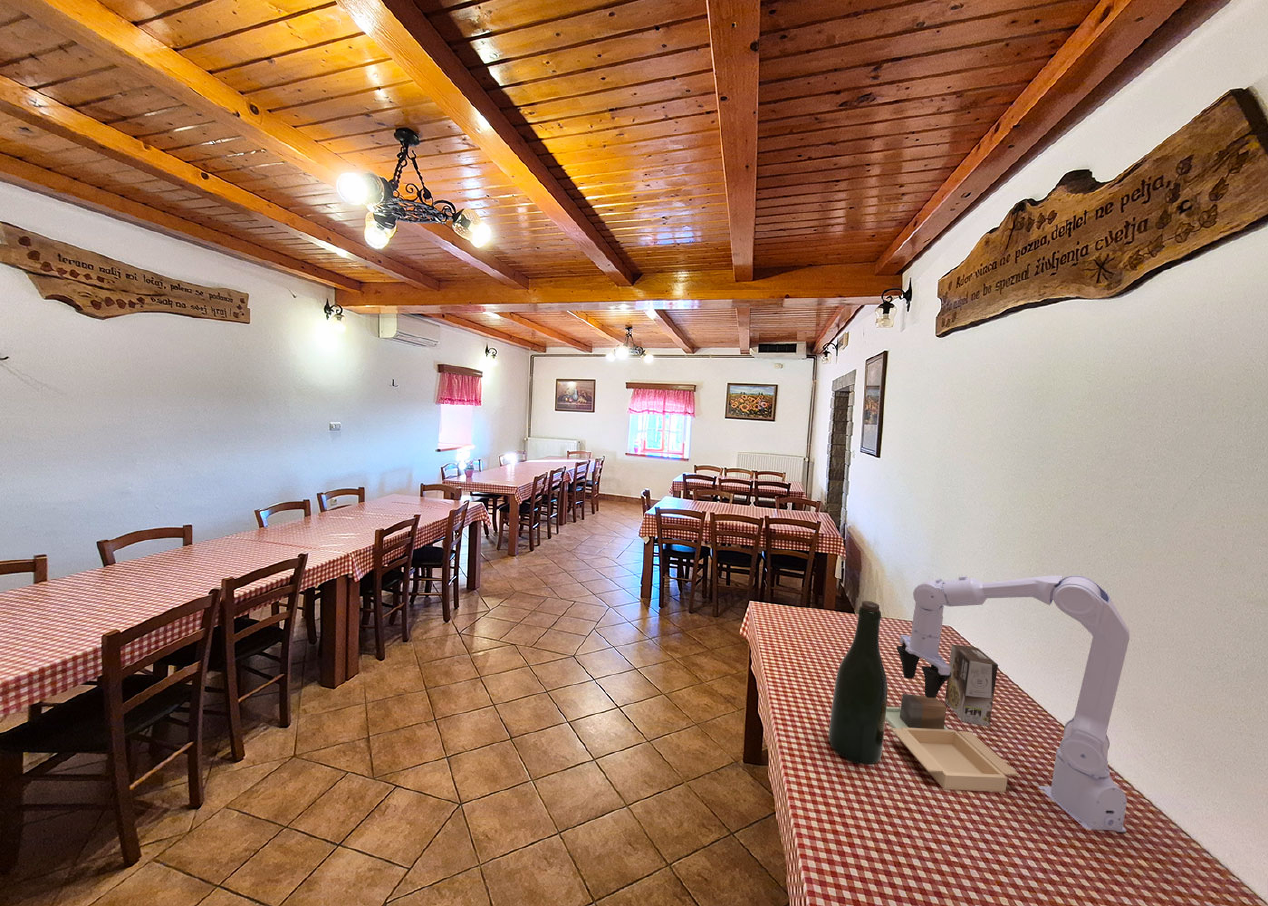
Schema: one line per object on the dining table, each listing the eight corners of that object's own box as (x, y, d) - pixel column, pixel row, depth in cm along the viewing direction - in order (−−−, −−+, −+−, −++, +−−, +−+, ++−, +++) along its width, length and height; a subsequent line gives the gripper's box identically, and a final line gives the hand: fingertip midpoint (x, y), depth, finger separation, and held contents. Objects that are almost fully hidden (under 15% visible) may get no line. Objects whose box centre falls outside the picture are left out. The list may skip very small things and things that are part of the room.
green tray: (955, 742, 102) (956, 736, 102) (901, 740, 101) (901, 734, 101) (925, 713, 112) (926, 708, 112) (875, 711, 111) (876, 706, 111)
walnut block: (943, 731, 105) (946, 706, 104) (910, 729, 104) (913, 704, 104) (931, 719, 109) (934, 696, 108) (899, 717, 109) (902, 693, 108)
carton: (1019, 795, 88) (1022, 777, 88) (929, 791, 87) (931, 773, 87) (965, 745, 101) (967, 729, 101) (886, 741, 101) (888, 725, 100)
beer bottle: (851, 770, 91) (869, 614, 89) (817, 735, 101) (833, 594, 99) (892, 763, 94) (911, 612, 91) (855, 729, 104) (871, 592, 101)
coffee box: (990, 729, 108) (999, 665, 107) (961, 723, 109) (969, 660, 108) (970, 706, 117) (978, 647, 116) (943, 701, 118) (951, 642, 117)
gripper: (890, 617, 112) (884, 669, 113) (931, 646, 98) (923, 705, 99) (917, 619, 112) (911, 670, 113) (962, 648, 98) (954, 707, 99)
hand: (919, 687), depth 106 cm, fingers open, 7 cm apart
